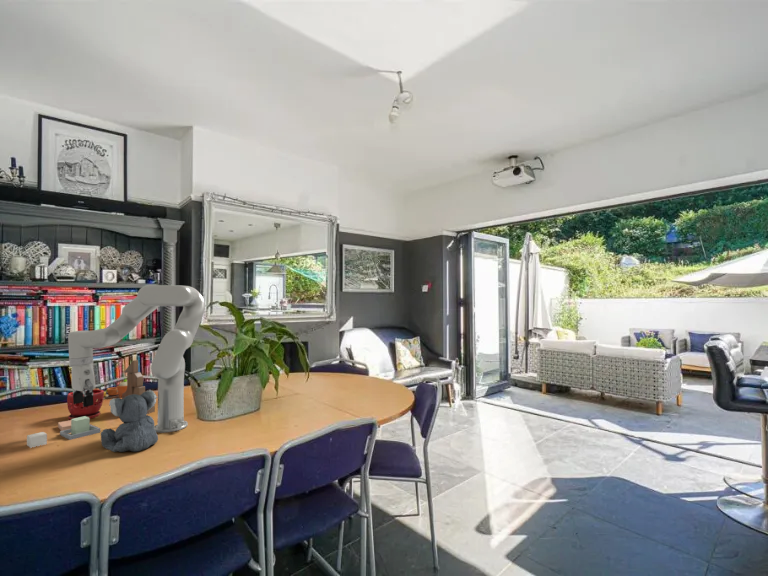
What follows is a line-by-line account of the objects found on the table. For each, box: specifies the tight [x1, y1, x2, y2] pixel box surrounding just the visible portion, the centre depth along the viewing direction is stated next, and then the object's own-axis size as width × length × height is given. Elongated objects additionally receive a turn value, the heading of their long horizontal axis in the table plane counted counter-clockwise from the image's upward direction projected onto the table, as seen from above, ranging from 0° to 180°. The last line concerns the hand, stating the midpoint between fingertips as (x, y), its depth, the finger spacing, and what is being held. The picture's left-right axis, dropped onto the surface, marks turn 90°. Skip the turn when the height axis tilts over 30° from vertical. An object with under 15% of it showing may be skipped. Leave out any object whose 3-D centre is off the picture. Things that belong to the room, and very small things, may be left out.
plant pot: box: [66, 389, 105, 421], centre depth 174 cm, size 13×13×12 cm
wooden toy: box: [121, 359, 156, 415], centre depth 182 cm, size 16×7×25 cm, turn 71°
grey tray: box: [59, 423, 101, 441], centre depth 152 cm, size 10×10×2 cm
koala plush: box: [100, 389, 159, 453], centre depth 140 cm, size 17×18×20 cm
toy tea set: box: [93, 379, 127, 400], centre depth 213 cm, size 26×16×10 cm, turn 115°
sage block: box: [70, 416, 91, 435], centre depth 152 cm, size 4×4×6 cm
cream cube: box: [26, 431, 48, 449], centre depth 140 cm, size 4×4×4 cm
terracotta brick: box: [57, 419, 71, 431], centre depth 158 cm, size 9×4×3 cm, turn 49°
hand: (83, 404), depth 153 cm, fingers open, 9 cm apart
